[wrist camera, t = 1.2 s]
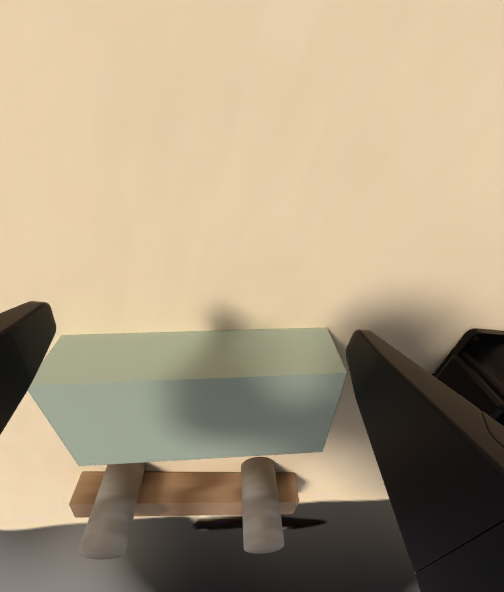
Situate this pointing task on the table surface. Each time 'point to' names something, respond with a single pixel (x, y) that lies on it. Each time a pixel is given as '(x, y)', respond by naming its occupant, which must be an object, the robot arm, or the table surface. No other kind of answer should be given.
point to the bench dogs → (182, 502)
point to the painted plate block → (190, 394)
